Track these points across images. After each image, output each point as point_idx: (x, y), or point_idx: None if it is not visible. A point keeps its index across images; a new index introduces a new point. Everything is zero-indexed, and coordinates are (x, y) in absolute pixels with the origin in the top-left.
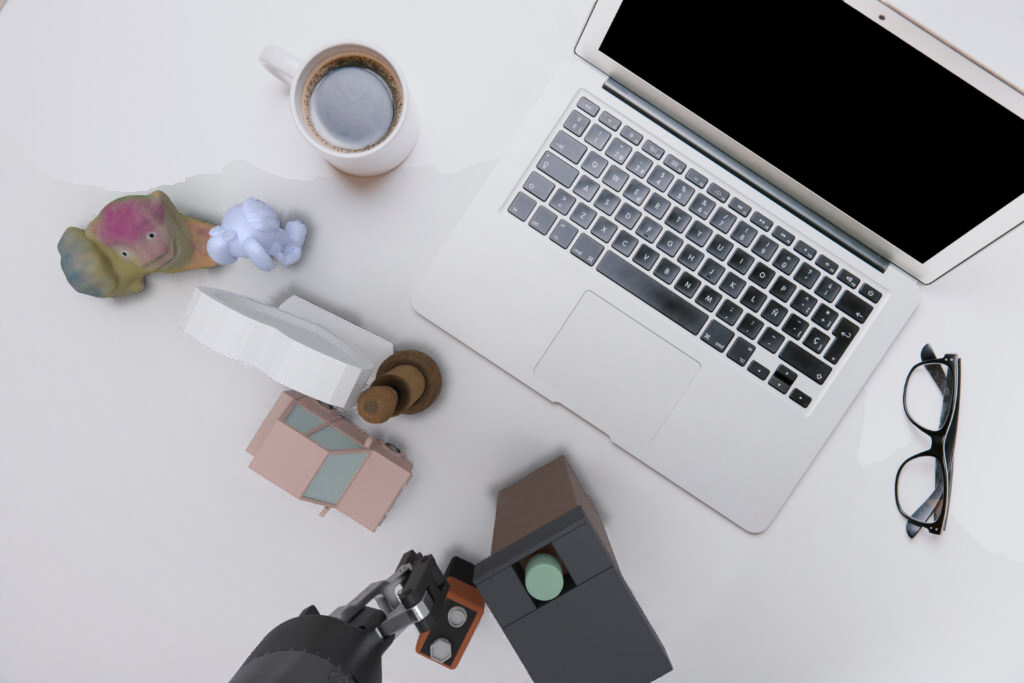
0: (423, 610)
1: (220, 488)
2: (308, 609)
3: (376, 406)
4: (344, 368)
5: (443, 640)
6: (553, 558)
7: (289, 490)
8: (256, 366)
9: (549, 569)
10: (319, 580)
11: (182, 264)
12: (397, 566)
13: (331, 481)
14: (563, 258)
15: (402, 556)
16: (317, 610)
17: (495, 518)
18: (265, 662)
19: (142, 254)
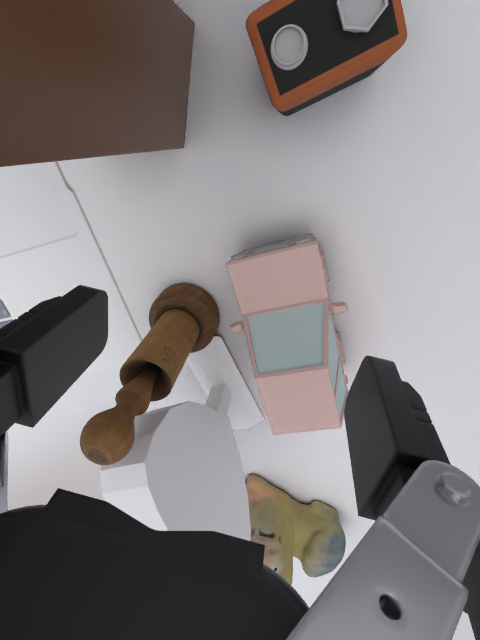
0: None
1: (421, 370)
2: (347, 430)
3: (90, 453)
4: (107, 493)
5: (341, 21)
6: None
7: (326, 382)
8: None
9: None
10: (444, 219)
11: (269, 504)
12: (52, 404)
13: (294, 336)
14: (5, 295)
15: (91, 362)
16: (349, 391)
17: (138, 152)
18: None
19: (264, 562)
